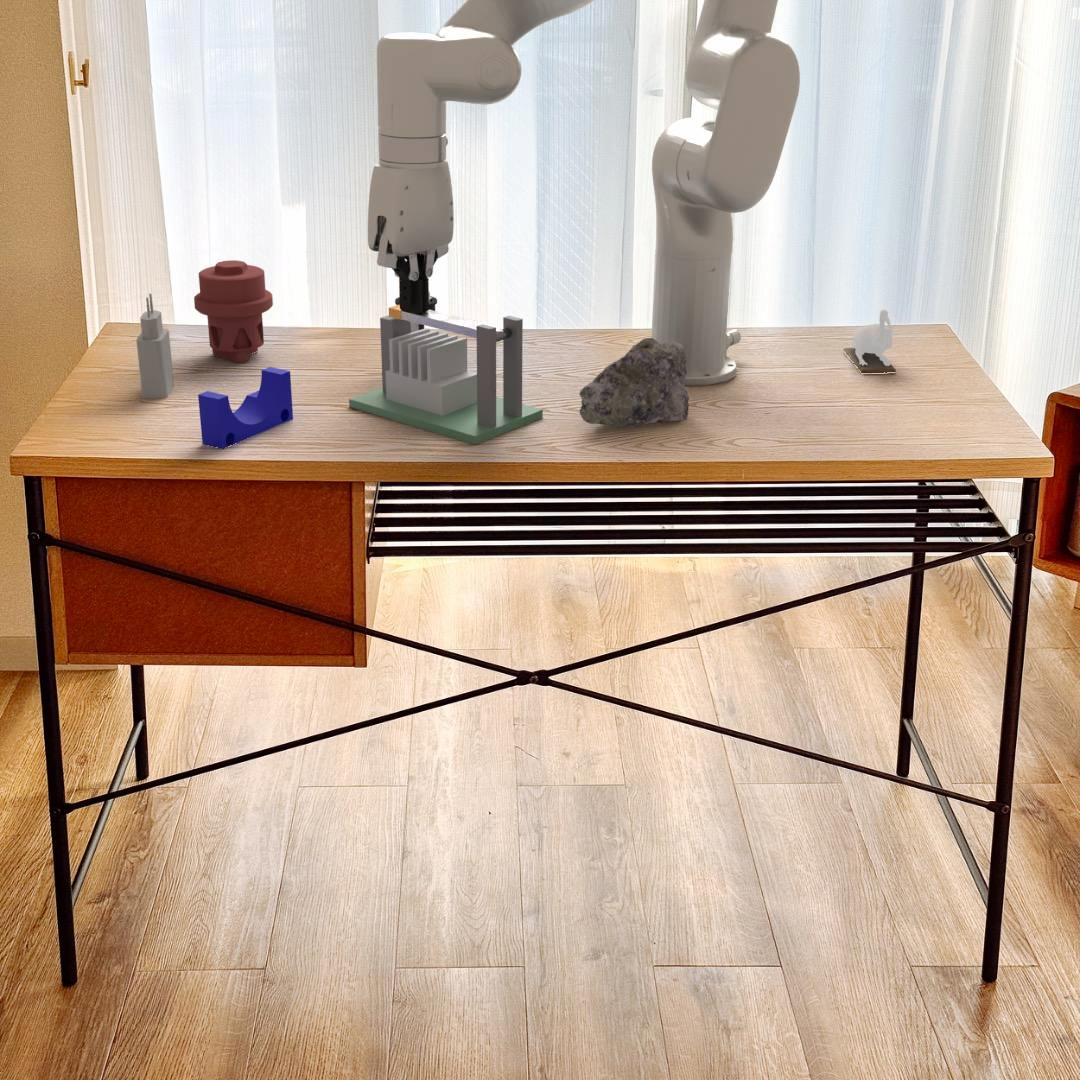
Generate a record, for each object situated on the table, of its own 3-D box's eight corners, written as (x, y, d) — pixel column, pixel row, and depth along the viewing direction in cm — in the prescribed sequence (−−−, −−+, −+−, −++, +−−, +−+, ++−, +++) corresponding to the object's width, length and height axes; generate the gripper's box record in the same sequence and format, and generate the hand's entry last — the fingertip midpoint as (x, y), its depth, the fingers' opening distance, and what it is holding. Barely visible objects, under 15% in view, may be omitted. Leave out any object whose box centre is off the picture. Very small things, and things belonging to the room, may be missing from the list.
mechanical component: (183, 358, 192) (239, 341, 200) (236, 372, 187) (292, 354, 194) (174, 265, 187) (232, 251, 195) (229, 276, 182) (286, 262, 189)
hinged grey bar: (404, 312, 174) (404, 302, 174) (511, 338, 165) (511, 328, 164) (388, 317, 172) (388, 307, 172) (495, 344, 163) (495, 333, 162)
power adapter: (141, 398, 177) (130, 301, 172) (149, 384, 182) (140, 289, 177) (167, 398, 177) (157, 301, 172) (175, 384, 182) (166, 289, 177)
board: (418, 383, 183) (415, 285, 178) (542, 417, 172) (543, 313, 167) (349, 406, 175) (344, 304, 170) (475, 444, 163) (474, 336, 158)
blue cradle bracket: (263, 413, 173) (260, 364, 171) (293, 420, 171) (290, 371, 168) (192, 443, 164) (187, 392, 161) (223, 451, 161) (218, 399, 159)
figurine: (905, 385, 185) (911, 318, 182) (870, 386, 185) (876, 319, 181) (875, 353, 198) (881, 290, 194) (842, 353, 198) (847, 290, 194)
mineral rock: (578, 435, 167) (580, 350, 163) (578, 405, 177) (580, 324, 172) (691, 437, 166) (696, 352, 162) (686, 407, 176) (690, 326, 172)
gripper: (433, 139, 171) (434, 294, 178) (340, 153, 160) (345, 317, 168) (481, 147, 167) (480, 305, 174) (389, 162, 156) (392, 329, 163)
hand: (414, 310), depth 171 cm, fingers closed
